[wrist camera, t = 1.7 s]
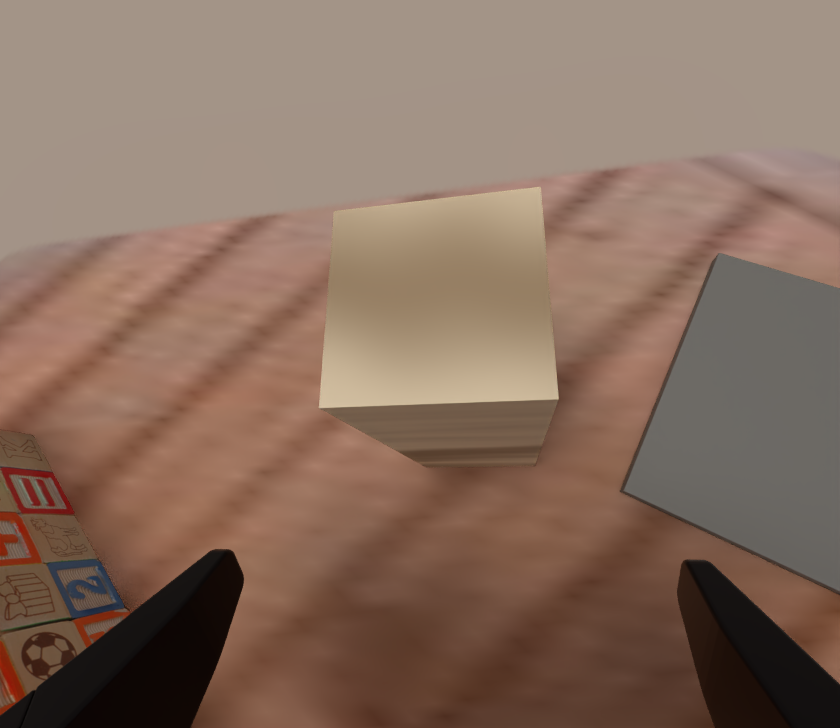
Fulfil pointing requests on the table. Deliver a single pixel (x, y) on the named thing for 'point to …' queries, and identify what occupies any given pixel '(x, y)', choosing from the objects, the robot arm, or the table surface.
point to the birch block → (443, 328)
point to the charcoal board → (753, 420)
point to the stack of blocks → (44, 574)
